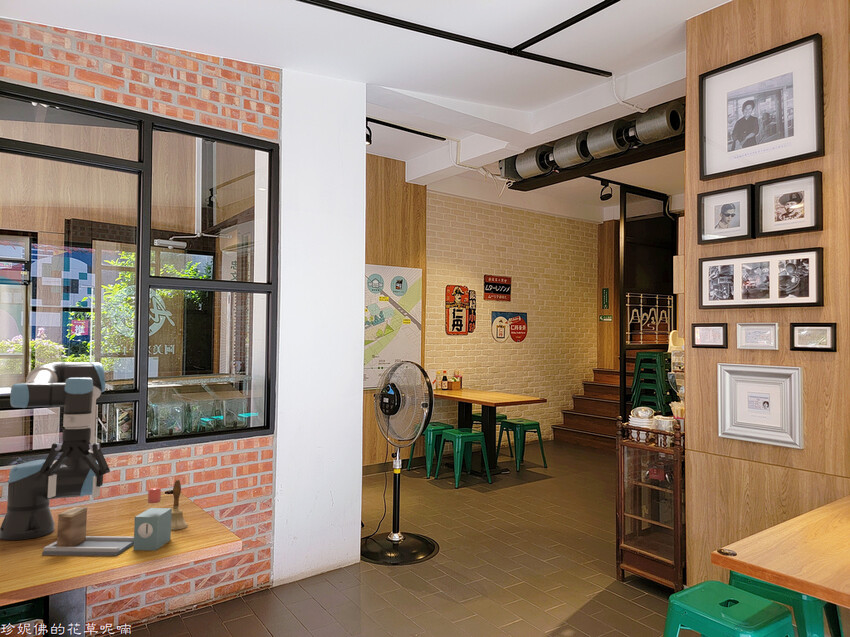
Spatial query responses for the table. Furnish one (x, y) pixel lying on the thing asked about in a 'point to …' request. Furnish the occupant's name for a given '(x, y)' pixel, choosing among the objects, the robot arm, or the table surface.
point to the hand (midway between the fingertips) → (73, 497)
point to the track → (93, 546)
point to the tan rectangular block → (72, 527)
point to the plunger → (154, 495)
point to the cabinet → (152, 529)
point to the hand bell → (177, 509)
